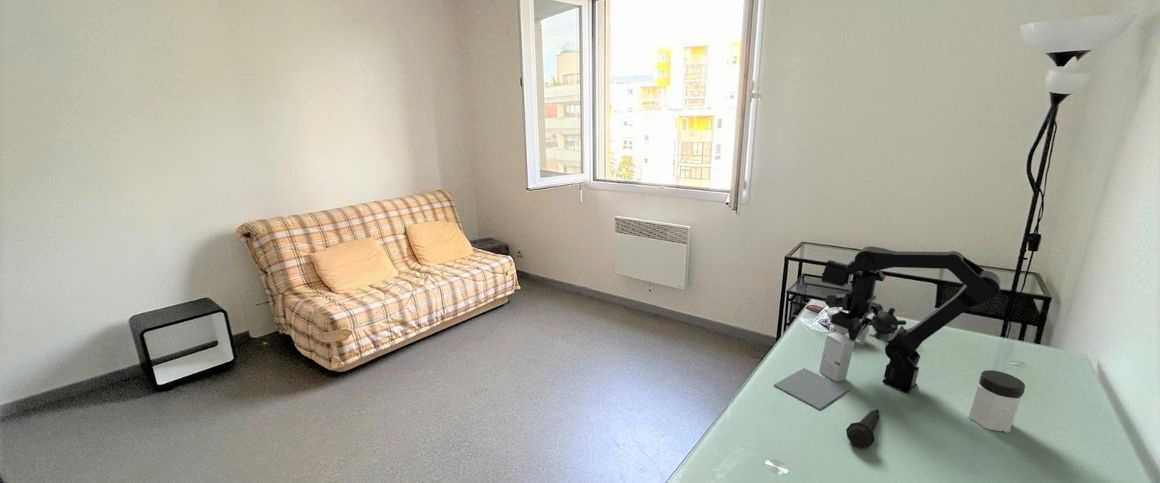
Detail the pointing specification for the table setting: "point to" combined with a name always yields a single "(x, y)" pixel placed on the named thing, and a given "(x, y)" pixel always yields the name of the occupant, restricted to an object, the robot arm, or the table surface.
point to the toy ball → (886, 323)
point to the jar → (996, 400)
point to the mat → (811, 388)
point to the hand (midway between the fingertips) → (852, 340)
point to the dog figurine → (844, 330)
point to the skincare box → (836, 356)
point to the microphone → (863, 430)
